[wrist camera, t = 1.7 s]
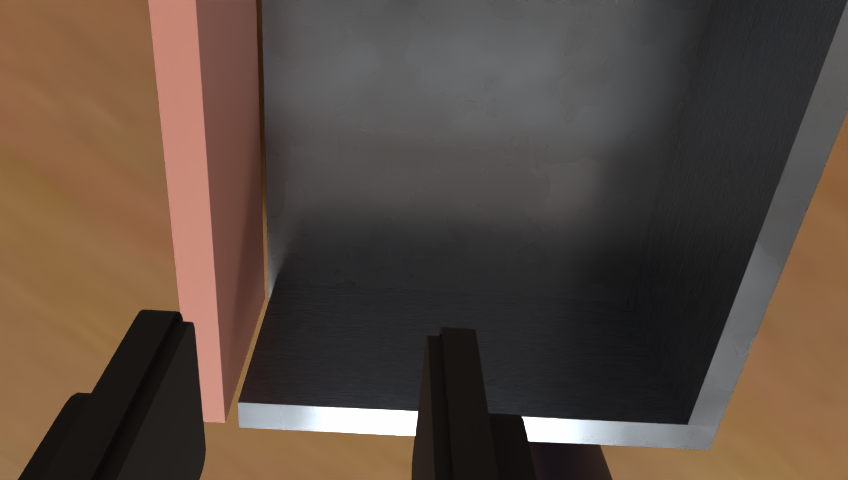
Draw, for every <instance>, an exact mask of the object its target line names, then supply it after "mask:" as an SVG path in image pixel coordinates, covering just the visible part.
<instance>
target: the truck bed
mask: <svg viewBox="0 0 848 480" xmlns="http://www.w3.org/2000/svg"><path fill="white" fill-rule="evenodd" d="M262 32H263V73H264V114H265V155H266V195H267V236H268V277H269V303H268V306H267V309H266V313H265V316H264V319H263V322H262V326H261V329H260V332H259V335H258V339H257V342H256V345H255V349H254V352H253V355H252V358H251V362H250V365H249V368H248V371H247V375H246V378H245V381H244V384H243V388H242V391H241V394H240V397H239V401H238V413H239V427H241V428H262V429H283V430H304V431H325V432H346V433H367V434H388V435H409V436H415V432H416V423H417V414H418V406H419V397H420V388H421V379H422V371H423V362H424V353H425V345H426V338H427V335H431V336H439V331H440V328H441V327H451V328H468V329H475V330H476V334H477V341H478V348H479V354H480V361H481V367H482V374H483V380H484V387H485V393H486V400H487V407H488V413H493V414H513V415H521V417H522V418H523V420H524V424H525V427H526V432H527V436H528V441H535V442H556V443H577V444H598V445H619V446H640V447H661V448H682V449H704V450H709V449H710V447H711V444H712V442H713V439H714V437H715V435H716V432H717V430H718V427H719V425H720V422H721V420H722V417H723V415H724V413H725V410H726V408H727V405H728V403H729V400H730V398H731V395H732V393H733V390H734V388H735V386H736V383H737V381H738V378H739V376H740V373H741V371H742V368H743V366H744V363H745V361H746V359H747V356H748V354H749V351H750V349H751V346H752V344H753V341H754V339H755V336H756V334H757V332H758V329H759V327H760V324H761V322H762V319H763V317H764V314H765V312H766V309H767V307H768V305H769V302H770V300H771V297H772V295H773V292H774V290H775V287H776V285H777V283H778V280H779V278H780V275H781V273H782V270H783V268H784V265H785V263H786V260H787V258H788V256H789V253H790V251H791V248H792V246H793V243H794V241H795V238H796V236H797V233H798V231H799V229H800V226H801V224H802V221H803V219H804V216H805V214H806V211H807V209H808V206H809V204H810V202H811V199H812V197H813V194H814V192H815V189H816V187H817V184H818V182H819V179H820V177H821V175H822V172H823V170H824V167H825V165H826V162H827V160H828V157H829V155H830V152H831V150H832V148H833V145H834V143H835V140H836V138H837V135H838V133H839V130H840V128H841V126H842V123H843V121H844V118H845V116H846V113H847V111H848V0H262Z"/></svg>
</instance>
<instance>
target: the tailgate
mask: <svg viewBox="0 0 848 480" xmlns="http://www.w3.org/2000/svg"><path fill="white" fill-rule="evenodd" d="M148 1H149V11H150V20H151V30H152V40H153V50H154V60H155V69H156V79H157V89H158V99H159V109H160V118H161V128H162V138H163V148H164V158H165V167H166V177H167V187H168V197H169V207H170V216H171V226H172V236H173V246H174V256H175V265H176V275H177V285H178V295H179V304H180V313H181V314H182V317H183V321H187V322H193V323H194V326H195V334H196V345H197V356H198V367H199V378H200V389H201V400H202V411H203V422H221V423H225V421H226V418H227V415H228V412H229V409H230V406H231V403H232V399H233V396H234V393H235V390H236V387H237V384H238V381H239V378H240V374H241V371H242V368H243V365H244V362H245V359H246V356H247V352H248V349H249V346H250V343H251V340H252V337H253V334H254V330H255V327H256V324H257V321H258V318H259V315H260V312H261V308H262V305H263V302H264V299H265V292H264V256H263V221H262V186H261V150H260V115H259V79H258V44H257V9H256V0H148Z"/></svg>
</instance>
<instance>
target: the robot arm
mask: <svg viewBox="0 0 848 480" xmlns="http://www.w3.org/2000/svg"><path fill="white" fill-rule="evenodd" d="M205 451H206V445H205V434H204V423H203V411H202V400H201V389H200V378H199V367H198V356H197V345H196V334H195V326H194V323H193V322H187V321H183V317H182V314H181V313H180V312H177V311H159V310H141V311H140V312H139V313H138V315H137V316H136V318H135V320H134V321H133V323H132V325H131V326H130V328H129V330H128V332H127V333H126V335H125V337H124V338H123V340H122V342H121V343H120V345H119V347H118V349H117V350H116V352H115V354H114V355H113V357H112V359H111V360H110V362H109V364H108V366H107V367H106V369H105V371H104V372H103V374H102V376H101V378H100V379H99V381H98V383H97V384H96V386H95V388H94V389H93V391H92V393H76V394H74V395H73V396H71V397H70V399H69V400H68V401H67V402H66V404H65V405H64V407H63V408H62V410H61V411H60V413H59V415H58V416H57V418H56V419H55V421H54V423H53V424H52V426H51V427H50V429H49V431H48V432H47V434H46V435H45V437H44V439H43V440H42V442H41V443H40V445H39V447H38V448H37V450H36V451H35V453H34V455H33V456H32V458H31V459H30V461H29V463H28V464H27V466H26V467H25V469H24V471H23V472H22V474H21V476H20V477H19V479H18V480H199V479H200V476H201V473H202V470H203V466H204V461H205ZM412 480H537V478H536V474H535V469H534V464H533V460H532V455H531V450H530V446H529V441H528V436H527V432H526V427H525V424H524V420H523V418H522V417H521V415H513V414H493V413H488V407H487V400H486V393H485V387H484V380H483V374H482V367H481V361H480V354H479V348H478V341H477V334H476V330H475V329H468V328H451V327H441V328H440V331H439V336H431V335H427V338H426V345H425V353H424V362H423V371H422V379H421V388H420V397H419V406H418V414H417V423H416V432H415V440H414V449H413V459H412Z"/></svg>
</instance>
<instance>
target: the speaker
mask: <svg viewBox="0 0 848 480" xmlns="http://www.w3.org/2000/svg"><path fill="white" fill-rule="evenodd" d="M529 446H530V450H531V455H532V460H533V464H534V469H535V474H536V478H537V480H612V477H611V474H610V471H609V469H608V466H607V463H606V460H605V458H604V455H603V452H602V449H601V447H600V445H598V444H577V443H556V442H535V441H529Z"/></svg>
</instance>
